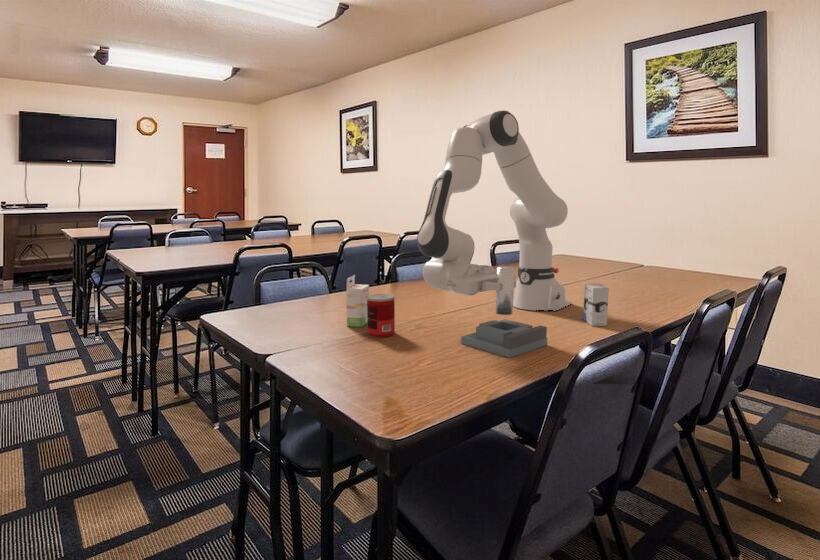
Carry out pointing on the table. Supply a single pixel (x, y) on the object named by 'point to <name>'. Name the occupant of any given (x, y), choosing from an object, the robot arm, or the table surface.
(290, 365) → the table surface
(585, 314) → the ink box
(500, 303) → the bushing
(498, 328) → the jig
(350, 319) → the ink box
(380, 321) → the canned food
